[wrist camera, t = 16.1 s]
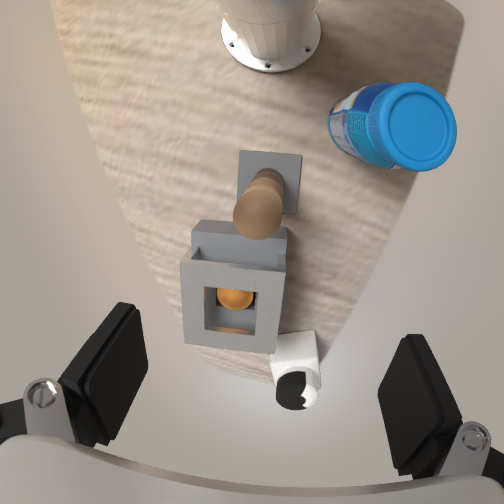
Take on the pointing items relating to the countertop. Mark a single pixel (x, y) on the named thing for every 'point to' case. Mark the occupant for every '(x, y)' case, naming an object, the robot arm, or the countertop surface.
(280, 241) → the box
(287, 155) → the pad
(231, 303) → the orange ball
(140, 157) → the countertop surface
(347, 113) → the beverage bottle
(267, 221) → the brown rod
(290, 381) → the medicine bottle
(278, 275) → the frame
